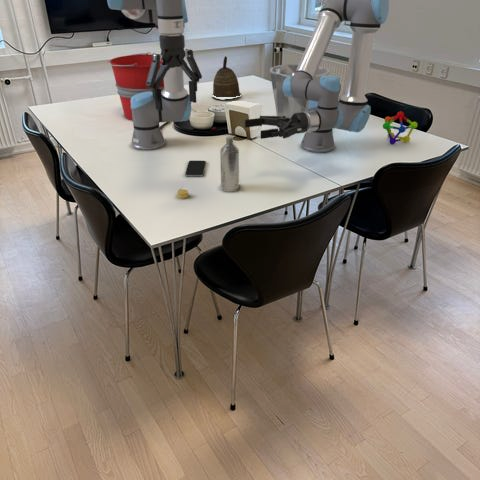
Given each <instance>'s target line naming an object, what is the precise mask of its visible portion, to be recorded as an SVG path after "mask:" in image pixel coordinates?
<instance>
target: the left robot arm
mask: <svg viewBox="0 0 480 480" xmlns="http://www.w3.org/2000/svg"><path fill="white" fill-rule="evenodd" d="M106 1H107V6H108V8H109V9H110V10H114V11H115V10H117V11H121V13H122V14H123V15H124V16H125V17H126V18H128V19H129V20H132V21H135V22H139V23H143V24H154V27H155V29H156V30H157V31H158V33H159V36H158V40H159V48H160V53H152V64H151V67H150V71H149V74H148V78H147V81H146V86H147V87H149V88H152V92H151V91H149V92H142V93H138V94H136V95H134V96H133V97H132V98H131V109H132V117H133V120H132V125H133V132H132V135H131V147H132V148H134V149H135V150H141V151H151V150H153V151H154V150H157V149H161V148H163V147H164V146H165V144H166V140H165V137H164V135H163V132H162V128H163V127H165V126H167V125H168V124H169V123H178V122H179V123H181V122H187V121H189V120H190V118H191V113H192V103H193V104H197V92H198V83H199V82H200V80H201V79H202V78H203V75H202V73H201V71H200V68H199V66H198V63H197V62H196V58H195V56H194V51H193V49H190V48H185V47H186V43H185V35H184V33H185V24H187V23H188V22H189V20H188V19H189V18H188V12H187V7H186V6H187V5H186V1H185V0H106ZM185 58H186V61H185ZM161 59H162V63H161V65H160V61H161ZM159 65H160V69H159ZM158 69H159V71H158ZM157 72H158V73H157ZM184 73H185V75H186V76H187V77H188V79H189V81H188V90H187V89H186V88H185V82H184V80H185V79H184ZM163 78H164V89H163V90H162V92H161V89H159V86H160V84H161V82H162V80H163ZM160 123H163V124H161V125H160Z"/></svg>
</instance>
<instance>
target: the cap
mask: <svg viewBox="0 0 480 480" xmlns="http://www.w3.org/2000/svg"><path fill="white" fill-rule="evenodd" d="M188 197H189V190H187V189H184V188H183V189H179V190H177V198H178V199H188Z"/></svg>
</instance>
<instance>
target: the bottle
mask: <svg viewBox="0 0 480 480" xmlns="http://www.w3.org/2000/svg"><path fill="white" fill-rule="evenodd" d="M219 151H220V155H219V157H220V189H221V191H223V192H225V193H226V192H227V193H233V192H237V191H238V190H239V189H240V149H239V148H238V147H237V146H236V145H235V144H234V137H233V136H232V135H231V136H230V135H228V136H226V137H225V143H224V145H223V146H222V147H221V148H220V150H219Z"/></svg>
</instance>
